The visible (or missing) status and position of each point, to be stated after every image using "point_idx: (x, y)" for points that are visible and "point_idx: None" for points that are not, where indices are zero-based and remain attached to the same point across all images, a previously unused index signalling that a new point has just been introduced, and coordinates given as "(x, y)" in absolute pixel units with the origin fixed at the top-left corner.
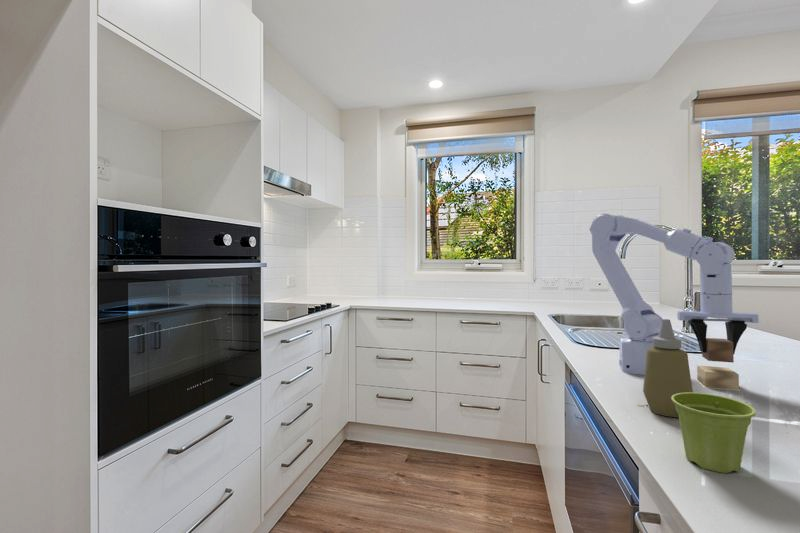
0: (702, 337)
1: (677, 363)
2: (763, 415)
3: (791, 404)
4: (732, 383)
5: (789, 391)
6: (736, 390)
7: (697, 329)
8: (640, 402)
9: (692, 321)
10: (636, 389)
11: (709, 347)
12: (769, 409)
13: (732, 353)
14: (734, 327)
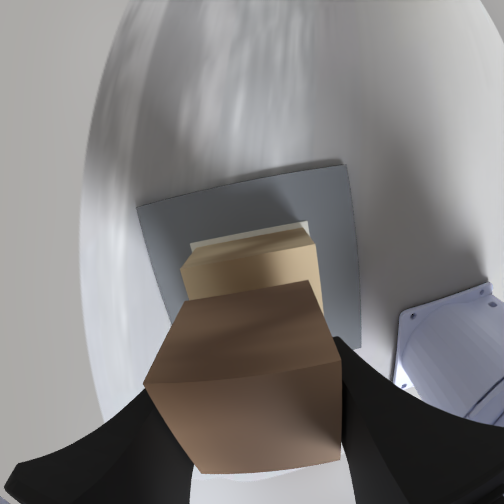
0: (384, 397)
1: None
2: (170, 25)
3: (84, 193)
4: (211, 249)
5: (91, 336)
6: (203, 240)
7: (471, 423)
8: (444, 13)
9: (497, 499)
10: (475, 123)
11: (319, 328)
12: (141, 92)
13: (174, 329)
14: (78, 494)
